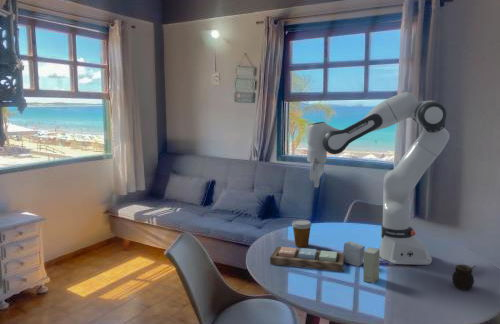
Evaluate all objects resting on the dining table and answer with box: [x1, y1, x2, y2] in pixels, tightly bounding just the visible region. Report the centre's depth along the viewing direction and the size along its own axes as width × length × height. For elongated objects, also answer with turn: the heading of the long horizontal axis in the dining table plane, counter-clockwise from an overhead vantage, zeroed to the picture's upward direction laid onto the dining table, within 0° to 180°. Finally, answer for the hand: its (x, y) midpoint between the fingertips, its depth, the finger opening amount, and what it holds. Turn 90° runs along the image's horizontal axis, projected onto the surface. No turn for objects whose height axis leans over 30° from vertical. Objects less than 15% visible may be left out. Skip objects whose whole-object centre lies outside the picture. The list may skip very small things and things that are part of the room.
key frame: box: [269, 246, 345, 272], centre depth 171 cm, size 31×13×3 cm, turn 72°
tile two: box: [298, 247, 318, 260], centre depth 171 cm, size 7×7×3 cm
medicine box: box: [342, 240, 366, 267], centre depth 168 cm, size 8×4×9 cm, turn 46°
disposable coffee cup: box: [291, 219, 312, 249], centre depth 190 cm, size 10×10×12 cm
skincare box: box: [362, 246, 380, 284], centre depth 152 cm, size 6×4×12 cm
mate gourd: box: [451, 264, 477, 291], centre depth 144 cm, size 7×8×10 cm
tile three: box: [278, 246, 298, 258], centre depth 174 cm, size 7×7×3 cm
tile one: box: [319, 250, 337, 262], centre depth 168 cm, size 7×7×3 cm
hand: (316, 186), depth 179 cm, fingers closed
